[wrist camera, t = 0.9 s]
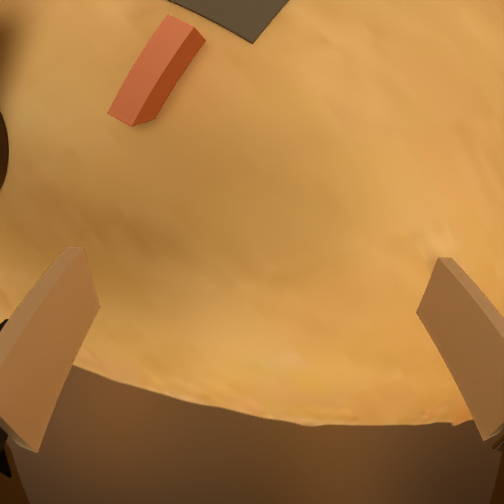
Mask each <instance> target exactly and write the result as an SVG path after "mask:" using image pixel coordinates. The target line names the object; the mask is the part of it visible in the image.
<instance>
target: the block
mask: <svg viewBox="0 0 504 504" xmlns="http://www.w3.org/2000/svg"><path fill="white" fill-rule="evenodd" d="M205 41H206V40H205V39H204V38H203V37H202V36H201V34H200V33H199V32H198V31H197V30H196V29H195V27H193V26H191V25H189V24H187V23H185V22H183V21H181V20H179V19H177V18H174V17H172V16H170V15H167V16H166V17H165V19H164V20H163V22H162V23H161V24H160V26H159V27H158V29H157V30H156V32H155V33H154V35H153V36H152V37H151V39H150V40H149V42H148V44H147V45H146V47H145V48H144V50H143V51H142V53H141V54H140V56H139V58H138V59H137V61H136V63H135V64H134V66H133V68H132V69H131V71H130V73H129V74H128V76H127V78H126V80H125V81H124V83H123V85H122V87H121V88H120V90H119V92H118V94H117V96H116V98H115V100H114V102H113V103H112V105H111V107H110V109H109V111H108V113H107V114H109V115H111V116H113V117H115V118H116V119H118V120H120V121H122V122H124V123H125V124H127V125H129V126H131V127H132V126H135V125H138V124H141V123H143V122H146V121H149V120H152V119H155V117H156V116H157V114H158V112H159V110H160V109H161V107H162V105H163V104H164V102H165V100H166V99H167V97H168V96H169V94H170V92H171V91H172V89H173V88H174V86H175V85H176V83H177V81H178V80H179V78H180V77H181V75H182V74H183V72H184V71H185V69H186V68H187V66H188V65H189V63H190V62H191V60H192V59H193V58H194V56H195V55H196V53H197V52H198V51H199V49H200V48H201V46H202V45H203V44H204V42H205Z"/></svg>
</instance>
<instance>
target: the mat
mask: <svg viewBox="0 0 504 504" xmlns="http://www.w3.org/2000/svg"><path fill="white" fill-rule="evenodd" d="M169 1H171V2H173V3H175V4H178V5H180V6H182V7H184V8H187V9H189V10H191V11H193V12H195V13H197V14H199V15H201V16H203V17H205V18H207V19H209V20H211V21H213V22H215V23H217V24H219V25H221V26H222V27H224V28H226V29H228V30H230V31H232V32H233V33H235V34H237V35H239V36H240V37H242V38H244V39H246V40H247V41H249V42H251V43H252V44H253V43H254V41H255V40H256V39H257V38H258V36H259V35H260V34H261V33H262V31H263V30H264V29H265V28H266V27H267V25H268V24H269V23H270V22H271V21H272V19H273V18H274V17H275V16H276V15H277V13H278V12H279V11H280V10H281V9H282V8H283V6H284V5H285V4H286V3H287V2H288V1H289V0H169Z"/></svg>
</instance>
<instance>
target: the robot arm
mask: <svg viewBox="0 0 504 504" xmlns="http://www.w3.org/2000/svg"><path fill="white" fill-rule="evenodd" d="M7 161H8V143H7V135H6V129H5V125H4V122H3V119H2V116H1V114H0V188H1V186H2V183H3V181H4V178H5V174H6V169H7ZM99 308H100V305H99V302H98V298H97V295H96V291H95V288H94V284H93V280H92V276H91V273H90V269H89V265H88V260H87V256H86V252H85V248H84V247H80V246H67V247H66V248H65V249H64V250H63V251H62V253H61V254H60V255H59V256H58V257H57V258H56V260H55V261H54V262H53V263H52V264H51V265H50V267H49V268H48V269H47V270H46V271H45V273H44V274H43V275H42V276H41V278H40V279H39V280H38V281H37V283H36V284H35V285H34V286H33V288H32V289H31V290H30V291H29V293H28V294H27V295H26V297H25V298H24V299H23V301H22V302H21V303H20V305H19V306H18V307H17V309H16V310H15V311H14V313H13V314H12V316H11V317H10V318H9V319H6V320H4V321H3V322H2V323H1V324H0V504H30V503H29V500H28V498H27V496H26V493H25V490H24V488H23V485H22V482H21V480H20V477H19V474H18V471H17V468H16V465H15V462H14V459H13V456H12V452H11V449H10V447H9V445H8V443H6V440H7V437H8V436H9V437H10V438H11V439H12V440H13V441H14V442H15V443H17V444H18V445H19V446H22V447H24V448H26V449H28V450H31V451H33V452H36V453H38V450H39V447H40V444H41V441H42V439H43V436H44V433H45V430H46V427H47V425H48V422H49V419H50V417H51V414H52V412H53V409H54V406H55V404H56V401H57V399H58V396H59V394H60V392H61V389H62V387H63V384H64V382H65V380H66V378H67V375H68V373H69V371H70V368H71V366H72V364H73V362H74V360H75V357H76V355H77V353H78V351H79V349H80V347H81V345H82V342H83V340H84V338H85V336H86V334H87V332H88V330H89V328H90V326H91V324H92V322H93V320H94V318H95V316H96V314H97V312H98V310H99ZM416 313H417V315H418V316H419V318H420V320H421V321H422V323H423V325H424V326H425V328H426V330H427V331H428V333H429V335H430V336H431V338H432V340H433V342H434V343H435V345H436V347H437V349H438V350H439V352H440V354H441V356H442V358H443V359H444V361H445V363H446V365H447V367H448V369H449V371H450V372H451V374H452V376H453V378H454V380H455V382H456V384H457V386H458V388H459V390H460V392H461V394H462V396H463V398H464V400H465V402H466V404H467V406H468V408H469V410H470V412H471V415H472V417H473V419H474V421H475V423H476V425H477V428H478V430H479V432H480V435H481V437H482V439H483V441H484V440H486V439H488V438H490V437H492V436H495V435H496V434H498V433H499V432H500V431H501V430H502V429H503V428H504V318H503V317H502V315H501V314H500V313H499V311H498V310H497V309H496V308H495V306H494V305H493V304H492V303H491V302H490V300H489V299H488V298H487V297H486V296H485V294H484V293H483V292H482V291H481V290H480V289H479V287H478V286H477V285H476V284H475V283H474V282H473V281H472V279H471V278H470V277H469V276H468V275H467V274H466V273H465V272H464V271H463V270H462V268H461V267H460V266H459V265H458V264H457V263H456V262H455V261H454V260H453V259H452V258H441V257H438V259H437V261H436V264H435V267H434V270H433V272H432V275H431V278H430V280H429V283H428V285H427V288H426V290H425V293H424V295H423V298H422V300H421V302H420V305H419V307H418V309H417V312H416ZM503 441H504V435H503V436H501V437H500V438H499V439H498V440H497V441H496V442H495V443H494V445H493V447H492V449H495V448H496V447H497V446H498V445H500V443H502V442H503ZM497 450H498V451H501V452H502V456H501V461H500V466H499V470H498V475H497V479H496V483H495V486H494V490H493V494H492V497H491V501H490V504H504V443H503V444H502V445H501V446H500V447H499V448H498V449H497Z"/></svg>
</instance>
